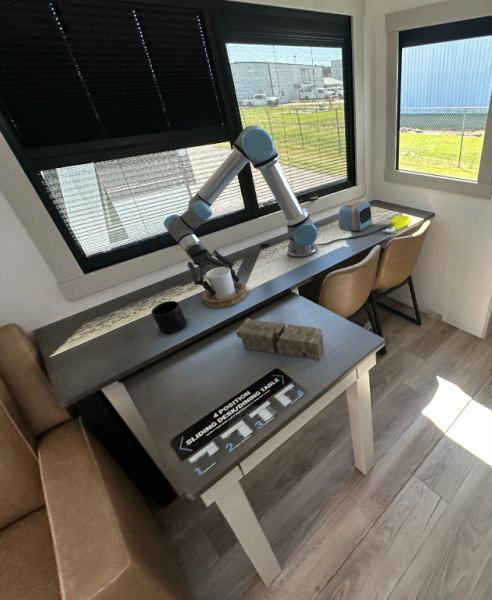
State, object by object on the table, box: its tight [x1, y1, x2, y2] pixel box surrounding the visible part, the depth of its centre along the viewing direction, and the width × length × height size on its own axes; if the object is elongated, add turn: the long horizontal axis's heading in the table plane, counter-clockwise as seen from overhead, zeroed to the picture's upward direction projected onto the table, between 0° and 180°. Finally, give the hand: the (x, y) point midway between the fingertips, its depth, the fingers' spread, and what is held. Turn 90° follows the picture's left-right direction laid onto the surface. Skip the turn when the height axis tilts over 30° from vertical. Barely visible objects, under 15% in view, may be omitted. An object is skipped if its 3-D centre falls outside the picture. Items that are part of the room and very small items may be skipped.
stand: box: [202, 279, 248, 309], centre depth 138 cm, size 18×18×3 cm
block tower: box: [235, 317, 325, 361], centre depth 106 cm, size 8×8×29 cm
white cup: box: [205, 266, 237, 300], centre depth 136 cm, size 10×10×12 cm
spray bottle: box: [382, 214, 411, 234], centre depth 194 cm, size 3×11×24 cm
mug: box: [150, 300, 188, 335], centre depth 119 cm, size 9×12×9 cm
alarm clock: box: [338, 199, 373, 232], centre depth 195 cm, size 16×16×16 cm
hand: (226, 287), depth 135 cm, fingers open, 11 cm apart
